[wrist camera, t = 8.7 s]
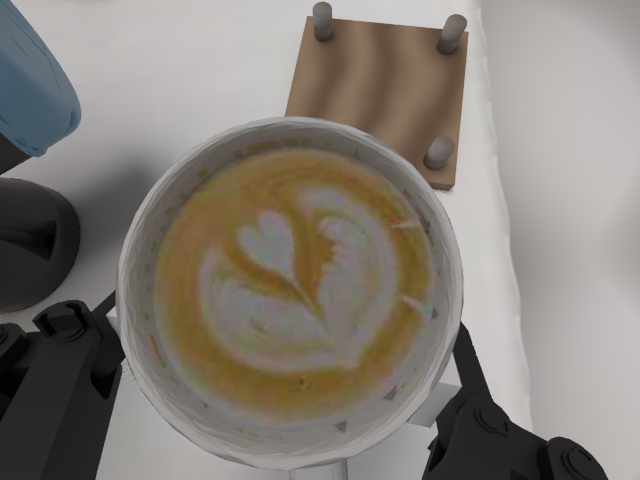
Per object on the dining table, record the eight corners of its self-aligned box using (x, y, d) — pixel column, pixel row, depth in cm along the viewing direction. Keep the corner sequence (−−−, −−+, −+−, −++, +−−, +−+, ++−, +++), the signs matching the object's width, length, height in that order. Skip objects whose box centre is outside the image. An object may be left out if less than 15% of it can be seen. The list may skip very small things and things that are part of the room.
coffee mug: (244, 205, 19) (149, 108, 9) (390, 213, 18) (461, 121, 8) (216, 419, 16) (40, 617, 6) (384, 436, 16) (475, 678, 6)
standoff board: (277, 165, 32) (268, 145, 28) (308, 27, 36) (304, -10, 32) (448, 190, 31) (467, 173, 26) (462, 43, 34) (481, 6, 30)
